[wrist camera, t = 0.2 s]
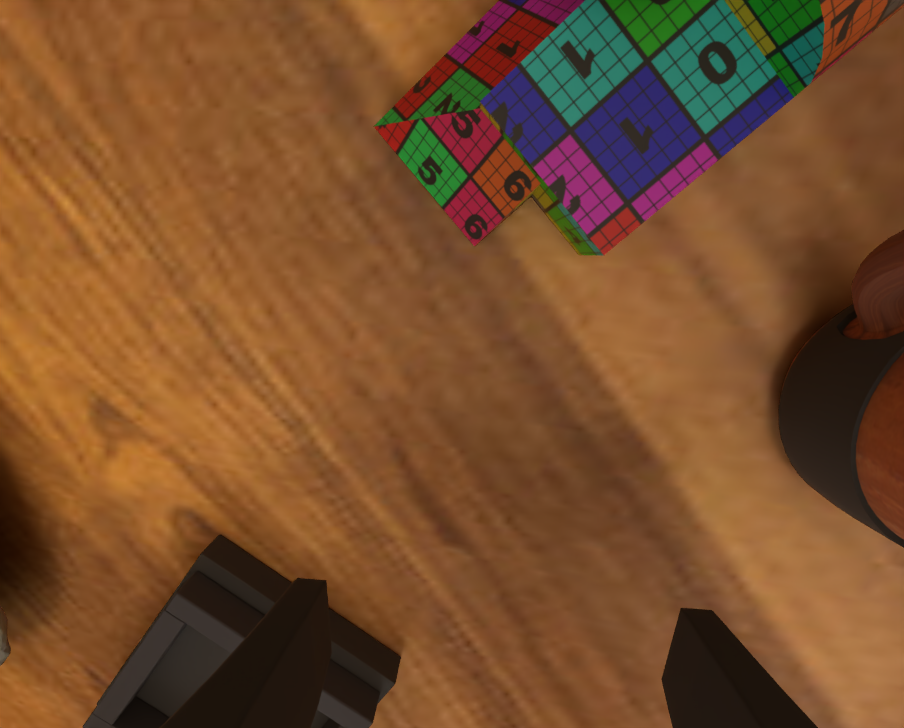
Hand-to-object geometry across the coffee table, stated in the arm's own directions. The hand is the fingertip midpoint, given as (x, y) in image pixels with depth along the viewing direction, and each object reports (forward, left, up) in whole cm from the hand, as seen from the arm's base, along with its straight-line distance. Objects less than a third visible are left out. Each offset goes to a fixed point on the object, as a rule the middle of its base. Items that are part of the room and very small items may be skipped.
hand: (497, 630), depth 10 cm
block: (+12, +5, -10) cm, 17 cm away
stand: (-16, +2, -10) cm, 19 cm away
